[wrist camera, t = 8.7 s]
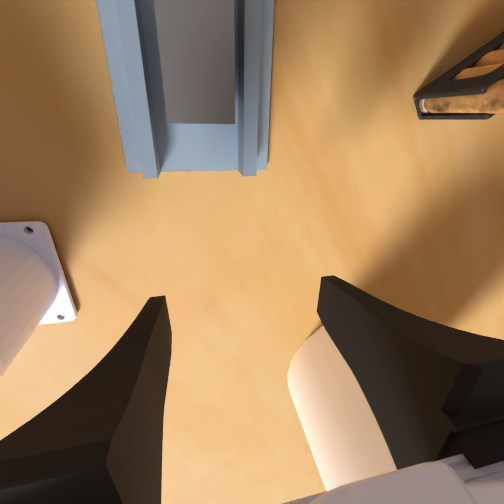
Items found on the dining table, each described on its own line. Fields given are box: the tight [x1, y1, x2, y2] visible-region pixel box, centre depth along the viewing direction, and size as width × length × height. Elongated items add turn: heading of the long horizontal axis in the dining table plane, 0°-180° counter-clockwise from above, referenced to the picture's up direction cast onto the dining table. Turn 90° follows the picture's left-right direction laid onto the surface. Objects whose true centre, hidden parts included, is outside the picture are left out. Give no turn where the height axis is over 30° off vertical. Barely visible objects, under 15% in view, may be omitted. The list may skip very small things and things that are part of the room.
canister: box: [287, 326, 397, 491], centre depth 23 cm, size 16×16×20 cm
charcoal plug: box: [154, 0, 235, 124], centre depth 13 cm, size 3×7×5 cm, turn 179°
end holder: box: [96, 0, 274, 179], centre depth 15 cm, size 9×12×3 cm
